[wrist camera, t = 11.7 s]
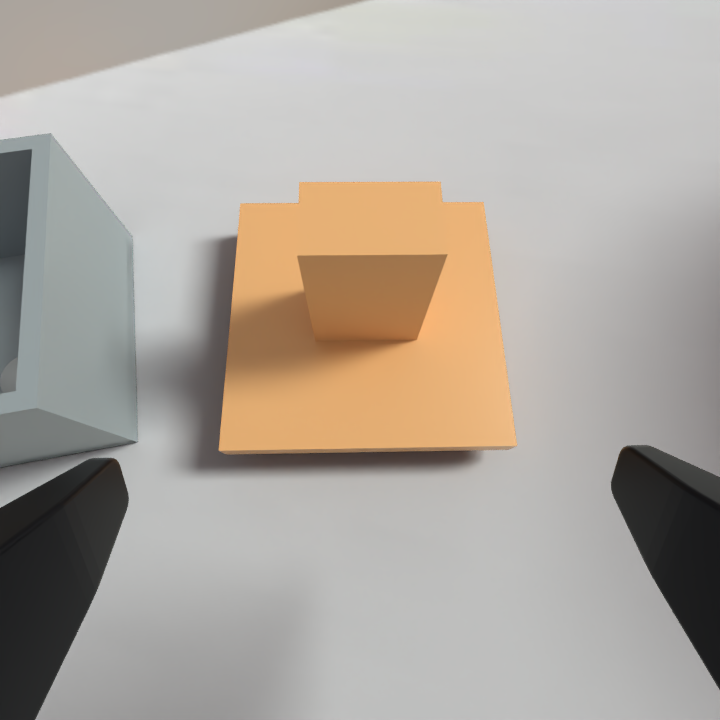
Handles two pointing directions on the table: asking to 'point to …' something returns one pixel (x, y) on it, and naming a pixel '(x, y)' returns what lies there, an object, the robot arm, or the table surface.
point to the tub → (62, 309)
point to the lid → (365, 325)
